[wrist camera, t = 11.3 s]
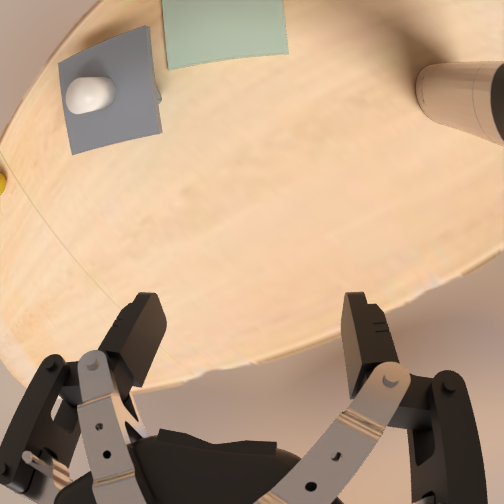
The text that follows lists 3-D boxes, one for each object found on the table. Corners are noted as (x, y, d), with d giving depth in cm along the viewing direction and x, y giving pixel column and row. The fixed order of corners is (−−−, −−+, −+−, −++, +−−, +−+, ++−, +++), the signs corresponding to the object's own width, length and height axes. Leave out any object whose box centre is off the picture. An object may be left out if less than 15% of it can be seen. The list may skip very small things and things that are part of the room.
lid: (149, 27, 22) (125, 18, 17) (162, 132, 29) (140, 141, 24) (63, 63, 24) (34, 64, 19) (76, 153, 30) (50, 165, 26)
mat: (275, -41, 22) (275, -43, 21) (288, 54, 30) (288, 53, 29) (162, -21, 24) (160, -22, 23) (170, 70, 32) (168, 70, 32)
